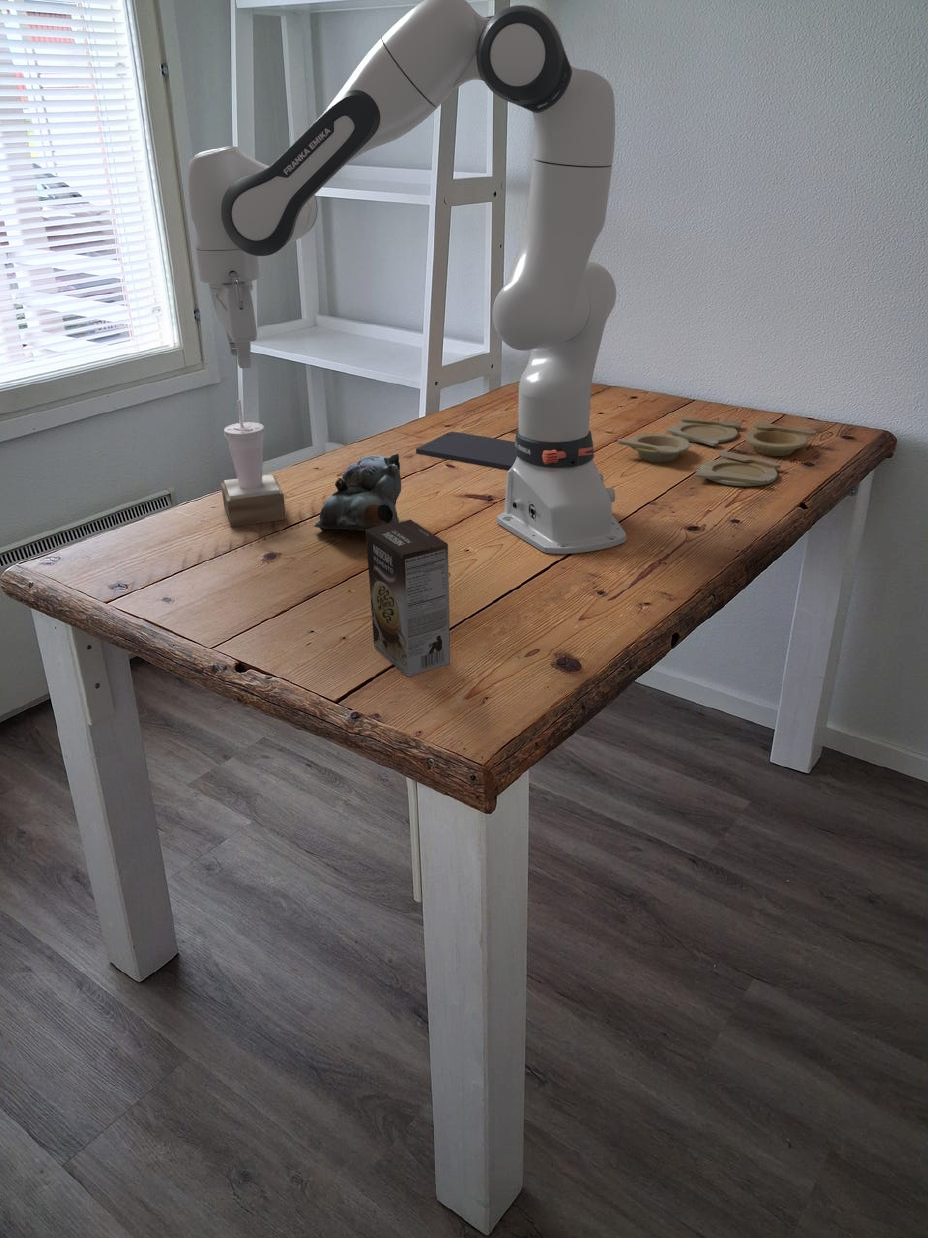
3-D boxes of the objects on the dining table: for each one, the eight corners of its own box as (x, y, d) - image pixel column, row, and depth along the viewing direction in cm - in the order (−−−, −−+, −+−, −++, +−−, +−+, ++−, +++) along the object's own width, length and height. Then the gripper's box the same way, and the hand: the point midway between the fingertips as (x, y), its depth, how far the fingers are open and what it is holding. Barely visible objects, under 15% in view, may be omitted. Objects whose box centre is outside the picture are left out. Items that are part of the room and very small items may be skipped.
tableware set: (754, 498, 170) (757, 475, 168) (604, 466, 186) (605, 445, 184) (827, 445, 194) (830, 424, 193) (689, 421, 210) (690, 401, 208)
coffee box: (371, 647, 126) (363, 528, 118) (416, 634, 129) (410, 516, 121) (406, 679, 119) (400, 554, 111) (452, 663, 122) (449, 541, 114)
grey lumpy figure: (302, 526, 161) (319, 441, 161) (369, 541, 167) (385, 459, 167) (339, 530, 148) (357, 437, 148) (410, 546, 154) (427, 457, 154)
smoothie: (255, 475, 168) (245, 393, 162) (278, 484, 165) (269, 400, 158) (223, 485, 164) (211, 401, 158) (246, 494, 160) (235, 409, 154)
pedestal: (286, 519, 164) (283, 490, 162) (230, 526, 162) (226, 497, 159) (277, 500, 172) (274, 473, 170) (224, 507, 169) (220, 479, 167)
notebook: (416, 456, 193) (512, 473, 183) (415, 448, 193) (512, 465, 183) (451, 438, 203) (544, 454, 193) (450, 430, 202) (544, 446, 192)
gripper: (260, 275, 141) (271, 373, 148) (240, 257, 159) (251, 345, 165) (215, 278, 140) (228, 377, 146) (200, 260, 157) (212, 349, 163)
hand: (240, 360), depth 156 cm, fingers open, 8 cm apart
